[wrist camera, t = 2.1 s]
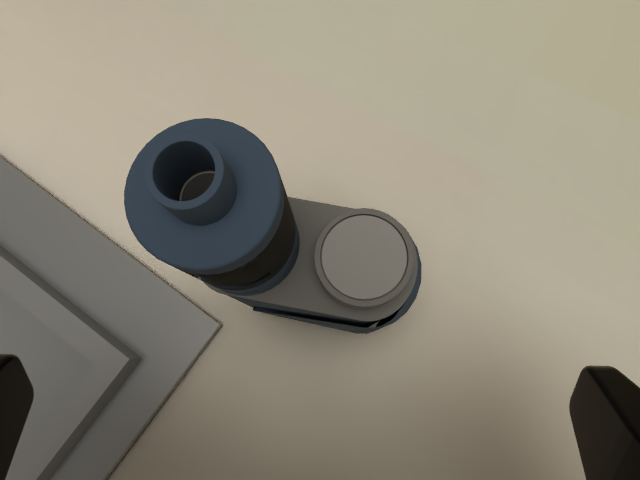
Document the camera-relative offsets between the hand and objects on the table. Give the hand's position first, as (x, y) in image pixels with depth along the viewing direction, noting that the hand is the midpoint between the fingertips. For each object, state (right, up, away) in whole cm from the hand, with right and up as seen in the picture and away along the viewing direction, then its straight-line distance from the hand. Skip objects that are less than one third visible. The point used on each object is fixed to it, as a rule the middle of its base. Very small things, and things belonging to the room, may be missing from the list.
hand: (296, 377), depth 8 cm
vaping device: (0, 0, +10) cm, 10 cm away
